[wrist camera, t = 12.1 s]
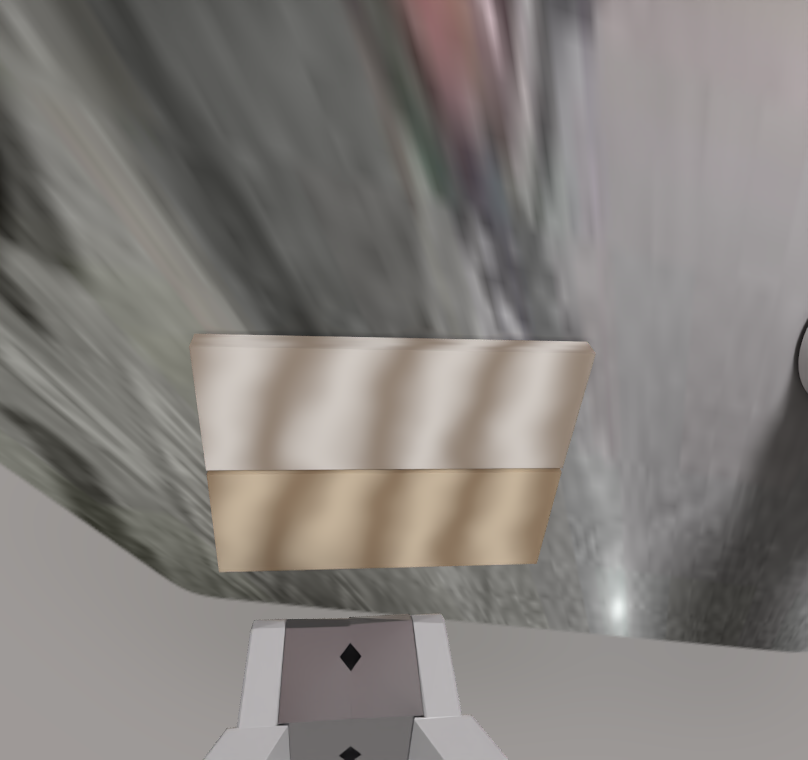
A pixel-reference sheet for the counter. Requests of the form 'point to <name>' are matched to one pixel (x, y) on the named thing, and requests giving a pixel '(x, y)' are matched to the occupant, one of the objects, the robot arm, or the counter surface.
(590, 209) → the counter surface
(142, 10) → the counter surface
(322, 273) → the counter surface
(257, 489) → the laid oak row
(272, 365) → the whitewashed plank
